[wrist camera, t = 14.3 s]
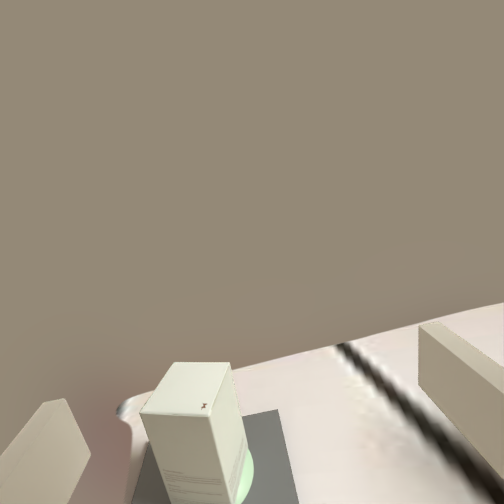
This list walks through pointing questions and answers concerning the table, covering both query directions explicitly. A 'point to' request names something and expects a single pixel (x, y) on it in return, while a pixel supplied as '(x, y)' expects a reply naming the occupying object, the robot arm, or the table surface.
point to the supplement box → (197, 433)
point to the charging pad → (254, 471)
